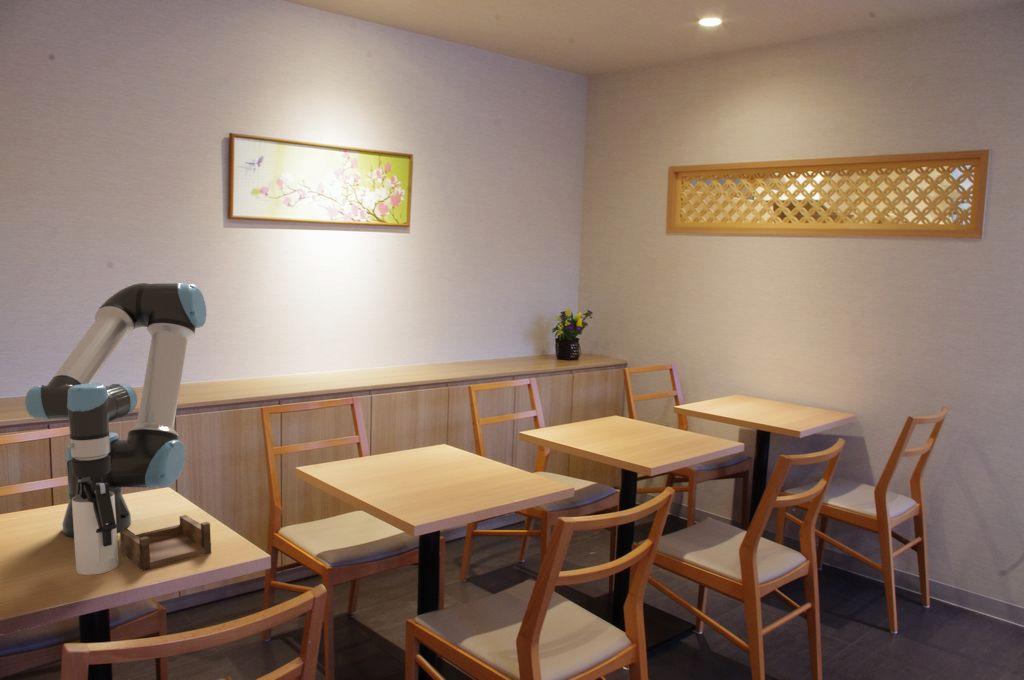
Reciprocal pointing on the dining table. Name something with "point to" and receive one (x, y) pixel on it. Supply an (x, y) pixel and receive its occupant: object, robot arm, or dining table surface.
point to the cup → (90, 538)
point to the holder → (166, 544)
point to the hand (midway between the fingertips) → (96, 550)
